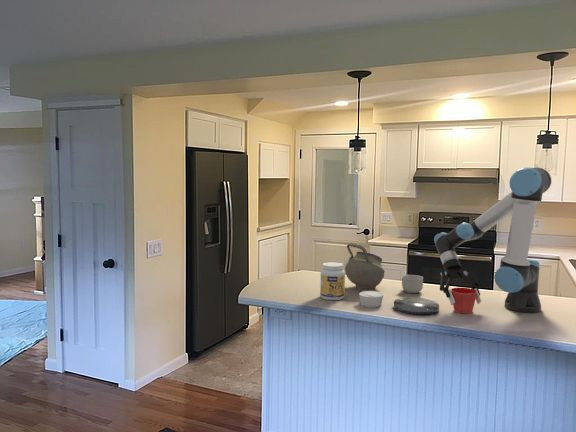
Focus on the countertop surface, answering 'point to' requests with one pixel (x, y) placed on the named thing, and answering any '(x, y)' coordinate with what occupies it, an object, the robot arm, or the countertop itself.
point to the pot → (364, 269)
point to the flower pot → (464, 299)
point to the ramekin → (371, 298)
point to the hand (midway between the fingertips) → (466, 303)
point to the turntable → (416, 305)
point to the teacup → (412, 283)
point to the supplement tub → (332, 281)
